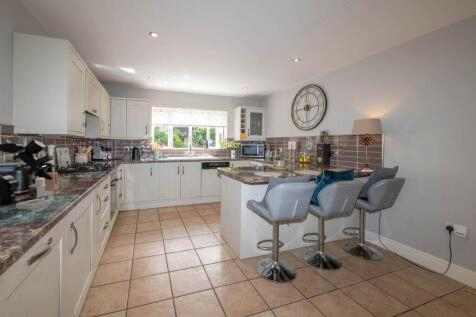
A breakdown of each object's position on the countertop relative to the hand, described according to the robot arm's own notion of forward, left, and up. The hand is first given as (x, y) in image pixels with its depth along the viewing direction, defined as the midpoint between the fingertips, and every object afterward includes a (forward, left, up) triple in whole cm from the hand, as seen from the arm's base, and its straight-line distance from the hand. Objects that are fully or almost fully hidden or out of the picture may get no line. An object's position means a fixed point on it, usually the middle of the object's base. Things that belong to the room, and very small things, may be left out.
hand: (54, 178), depth 131 cm
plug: (-1, 0, -7) cm, 7 cm away
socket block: (-4, -10, -13) cm, 17 cm away
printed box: (-17, +13, -14) cm, 26 cm away
